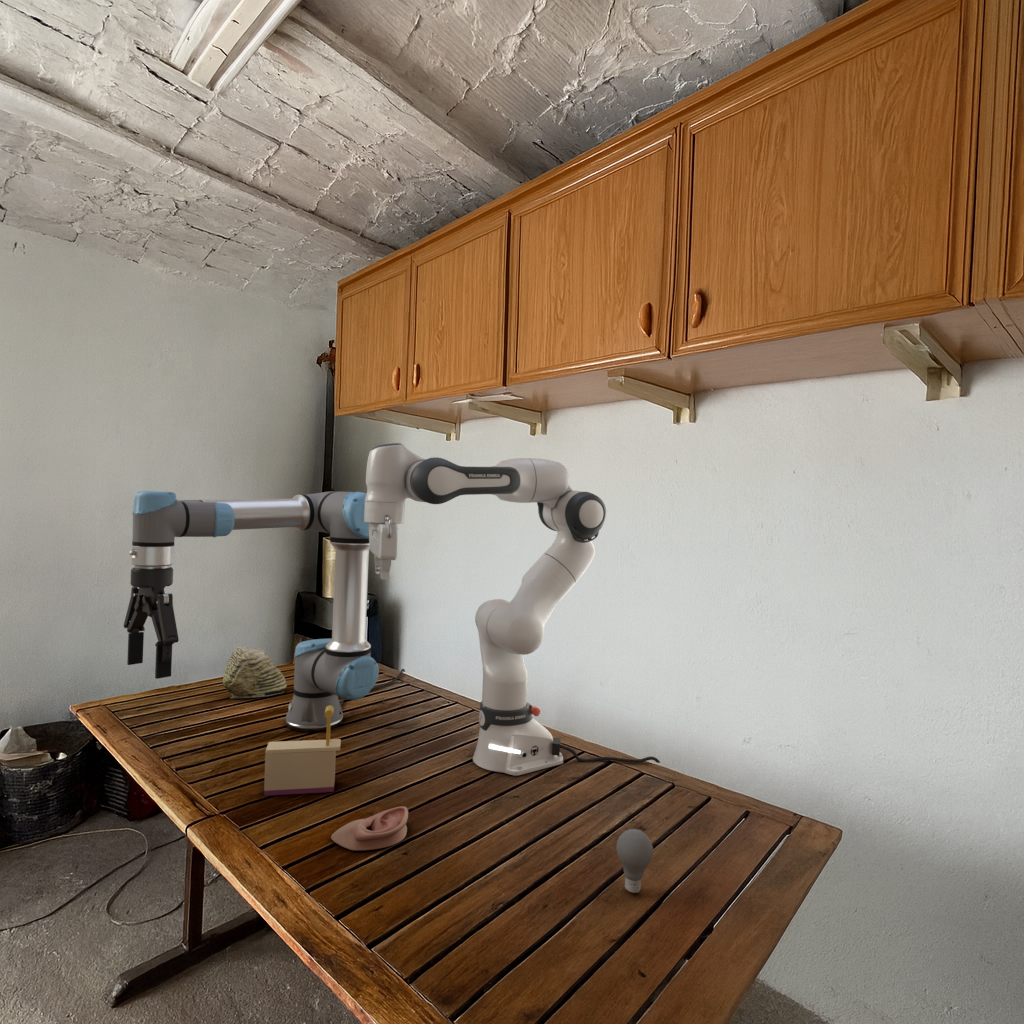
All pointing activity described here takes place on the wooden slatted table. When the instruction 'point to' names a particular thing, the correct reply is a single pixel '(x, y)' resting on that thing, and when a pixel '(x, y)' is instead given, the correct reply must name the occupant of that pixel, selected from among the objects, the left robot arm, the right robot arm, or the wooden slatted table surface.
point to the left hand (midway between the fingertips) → (148, 670)
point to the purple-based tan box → (299, 773)
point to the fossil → (252, 674)
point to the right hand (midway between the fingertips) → (381, 576)
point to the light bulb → (634, 857)
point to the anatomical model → (374, 830)
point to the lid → (308, 741)
